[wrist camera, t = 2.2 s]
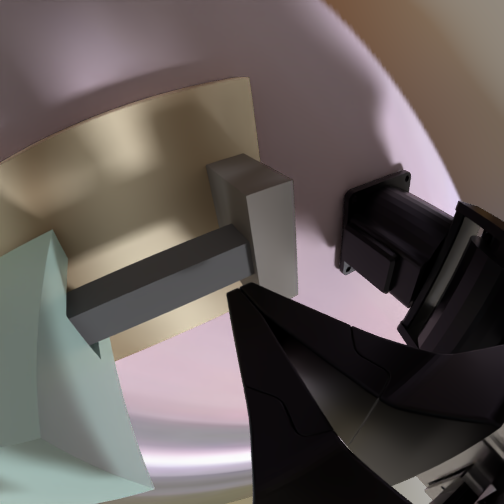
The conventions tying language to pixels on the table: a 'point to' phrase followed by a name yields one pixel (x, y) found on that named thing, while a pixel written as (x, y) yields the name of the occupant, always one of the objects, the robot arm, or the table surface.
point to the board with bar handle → (155, 195)
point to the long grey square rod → (159, 284)
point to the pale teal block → (58, 393)
